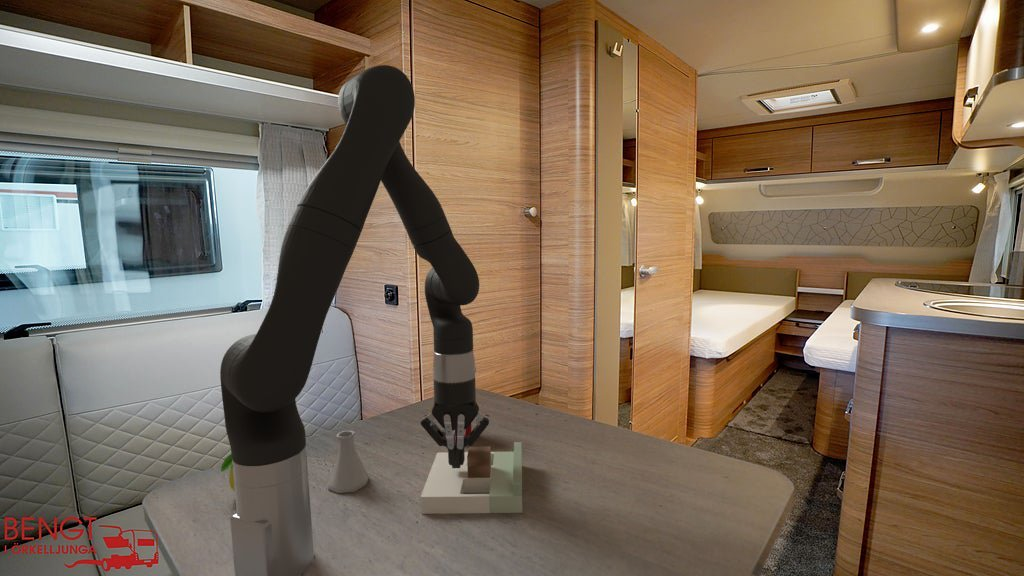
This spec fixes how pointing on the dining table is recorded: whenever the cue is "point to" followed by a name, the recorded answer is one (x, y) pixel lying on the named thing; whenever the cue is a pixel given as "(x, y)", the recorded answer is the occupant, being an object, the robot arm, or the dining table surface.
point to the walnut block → (479, 462)
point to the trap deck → (474, 486)
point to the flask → (347, 466)
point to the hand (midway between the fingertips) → (456, 466)
